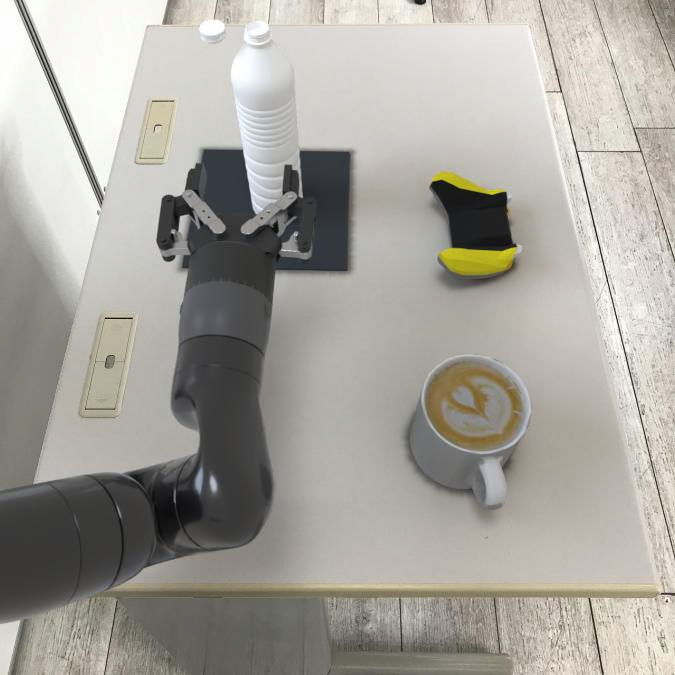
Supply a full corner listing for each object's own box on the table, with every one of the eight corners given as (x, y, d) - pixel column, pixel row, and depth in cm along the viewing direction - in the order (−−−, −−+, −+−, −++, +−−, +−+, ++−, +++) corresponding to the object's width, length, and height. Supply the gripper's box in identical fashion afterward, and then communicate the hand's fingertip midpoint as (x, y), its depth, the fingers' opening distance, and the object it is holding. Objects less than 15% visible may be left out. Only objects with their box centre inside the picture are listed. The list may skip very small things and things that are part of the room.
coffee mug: (407, 398, 68) (417, 353, 60) (499, 398, 69) (522, 353, 60) (415, 524, 62) (428, 494, 53) (518, 523, 62) (547, 493, 53)
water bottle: (303, 187, 84) (291, 5, 62) (303, 225, 80) (290, 47, 59) (237, 188, 84) (201, 6, 62) (234, 226, 80) (195, 49, 59)
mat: (182, 267, 77) (181, 266, 77) (203, 150, 88) (203, 149, 87) (346, 270, 77) (347, 269, 77) (349, 152, 87) (349, 151, 87)
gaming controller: (434, 291, 76) (518, 290, 76) (441, 263, 71) (530, 262, 71) (424, 196, 83) (501, 195, 83) (429, 165, 78) (511, 164, 78)
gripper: (154, 330, 57) (180, 195, 66) (312, 333, 57) (319, 197, 65) (131, 282, 51) (163, 138, 59) (309, 285, 51) (317, 141, 59)
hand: (245, 169), depth 62 cm, fingers open, 8 cm apart
